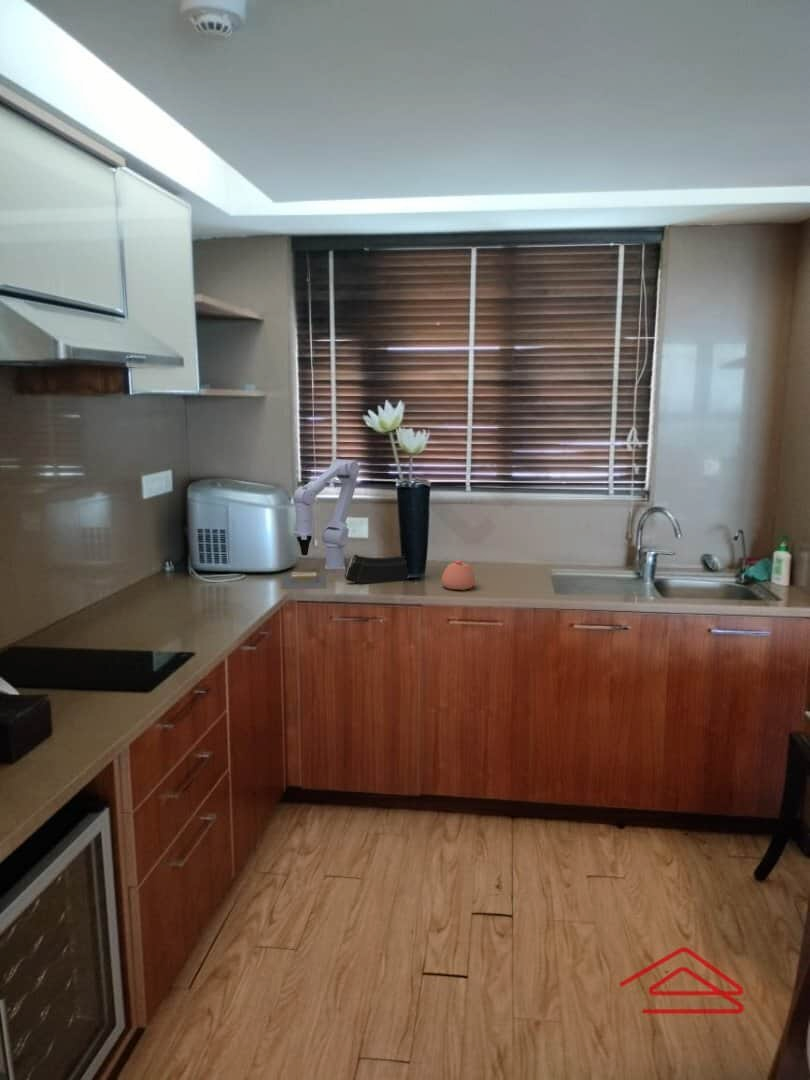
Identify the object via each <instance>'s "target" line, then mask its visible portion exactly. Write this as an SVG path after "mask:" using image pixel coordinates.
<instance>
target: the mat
mask: <svg viewBox="0 0 810 1080" xmlns="http://www.w3.org/2000/svg"><path fill="white" fill-rule="evenodd" d="M280 589H281V590H294V589H295V590H297V589H299V590H300V589H308V590H309V589H327V577H326V574H316V583H292V574H284V575H283V578H282V581H281V588H280Z"/></svg>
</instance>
